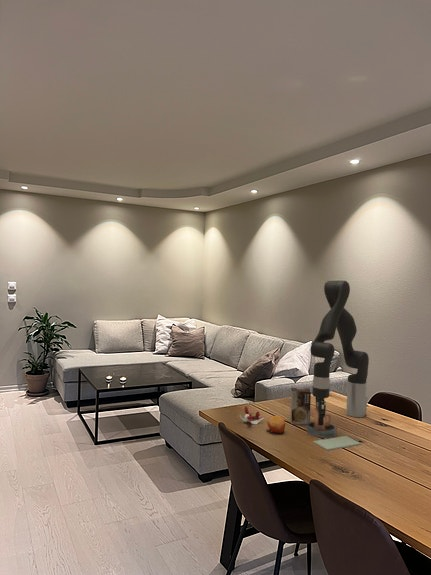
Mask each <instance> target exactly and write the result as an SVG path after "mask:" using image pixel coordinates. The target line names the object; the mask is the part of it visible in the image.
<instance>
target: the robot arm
mask: <svg viewBox="0 0 431 575" xmlns="http://www.w3.org/2000/svg"><path fill="white" fill-rule="evenodd" d="M323 291H324V296H325V299H326V301H327V303H328V306H329V308H330V309H329V311H328V312H327V313H326V314H324V317H323V318H322V320H321V323H320V326H319V330H318V331H319V332H318V333H317V335H316V337H315V338H314V340H313V341H312V342H311V345H310V350H309V351H310V355H312V357H314V358H321V359H324V360H323V361H321V362H316V363H314V365H313V379H312V391H311V396H313V397H314V398H315V408H317V411H318V425H323V421H324V417H325V410H326V411H327V409H326V407H327V406H326V401H325V399H328V398H330V387H331V385H330V384H331V380H330V379H331V378H330V371H331V365H332V361H333V357H334V356H335V355H334V354H335V346H334V345H333V344H332V343H330V342H326V341H332V340H333V339H335V335H336V331H337V333H338V335H339V340H340V343H341V348H342V353H343V358H344V363H345V365H346V366H347V367H348V368H350V369H356V373H353V374H349V375H348V376H347V386H346V389H347V390H346V407H345V408H346V412H345V414H346V415H347V416H350V417H353V418H363V417H365V415H366V416H367V410H368V409H367V407H368V405H367V404H368V397H367V393H366V392H367V379H368V374H369V373H368V372H369V371H368V370H369V360H370V358H369V354H368V353H367V352H366V351H360V350H355V349H354V348H353V341H354V339H355V337H356V335H357V330H358V329H357V326H356V322H355V319H354V317H353V315H352V314H351V313H350V312H349V311H348V309H346V308H345V306H346V304H347V301H348V299H349V296H350V291H351V287H350V284H349V282H348V281H347V280H327V281H326V282H325V283H324V287H323ZM321 412H322V413H323V414H321Z"/></svg>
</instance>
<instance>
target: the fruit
mask: <svg viewBox="0 0 431 575" xmlns="http://www.w3.org/2000/svg"><path fill="white" fill-rule="evenodd" d="M266 423H267V426H268V429H269V431H270V432H271V433H274V434H282V433H283V432H284V431H285V429H286V421H285V419H284V418H283V416H281V415H272V416H271V417H269V418H268V420H267V422H266Z"/></svg>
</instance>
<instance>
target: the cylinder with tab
mask: <svg viewBox="0 0 431 575" xmlns="http://www.w3.org/2000/svg"><path fill="white" fill-rule="evenodd" d="M321 414H323V413H322V412H321ZM326 417H327V418H326ZM326 420H327V421H326ZM313 421H314V429H318V430H326V429H325V426H330V425H331V424H332V423H331V422H332V415H331V414H330V413H327V409H326V410H325V417H324V421H323V425H318V411H317V408H316V407H315V408H314V416H313ZM325 422H327V423H325Z"/></svg>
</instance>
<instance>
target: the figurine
mask: <svg viewBox="0 0 431 575" xmlns="http://www.w3.org/2000/svg"><path fill="white" fill-rule="evenodd" d="M248 407H249V405H246V406H244V414H245V415H244V417H243V416H242V415H241V414H239V418H240V419H241V421H242V422H245V423H247V422H249V423H251V424H252V425H258V424H259V423H260V422H261V421H262V420H264V417H263V416H261V417H260V415H261V413H260V411H258V410H257V411H256V413H255V415H254V416H253V415H252V414H254V412H252V413H250V412H249V408H248Z"/></svg>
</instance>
